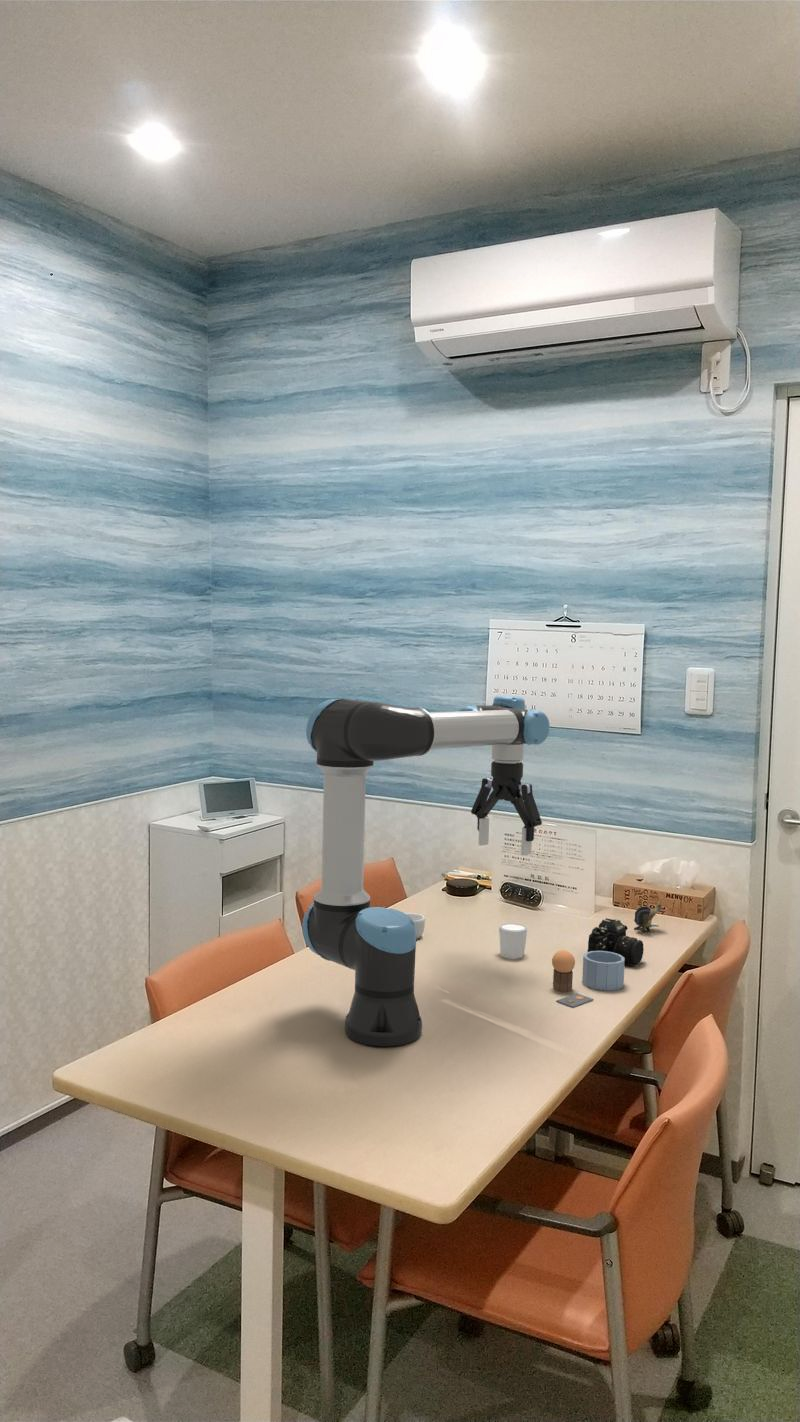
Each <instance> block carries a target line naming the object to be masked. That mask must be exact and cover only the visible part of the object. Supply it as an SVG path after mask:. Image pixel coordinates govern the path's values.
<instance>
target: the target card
mask: <svg viewBox="0 0 800 1422" xmlns="http://www.w3.org/2000/svg"><path fill="white" fill-rule="evenodd" d="M593 1001H594V998H593V997H589V996H586V995H583V994H581V993H577V992H576V993H574V994H571V995H567V996H565V997H562V998H560V999H557V1000H555V1002H556V1003H558V1004H560V1005H561V1004H562V1005H564V1006H567V1007H569V1008H571V1009H574V1008H577V1007H580V1006H582V1005H584V1004H587V1003H591V1002H593Z"/></svg>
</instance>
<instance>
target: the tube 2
mask: <svg viewBox="0 0 800 1422" xmlns="http://www.w3.org/2000/svg"><path fill="white" fill-rule="evenodd" d="M582 958H583V959H582V976H581V977H582V984H583V985H585V986H586V987H588V988H590V989H593V990H600V991H617V990H621V989H622V988H624V985H625V965H626V964H625V958H624V957H623V956H621V955H620V954H616V953H613V952H607V951H590V952H587V951H586V952H584V954H583V957H582Z"/></svg>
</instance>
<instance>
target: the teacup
mask: <svg viewBox="0 0 800 1422" xmlns="http://www.w3.org/2000/svg"><path fill="white" fill-rule="evenodd" d="M404 913H405V914H407V915H408V916H409V917H410V918H411V919H412V920H413V922H414V924H415V936H416V940H417V939H419V938H421V937H422V935H423V933H424V931H425V923H426V922H425V921H426V917H425V916H424V914H420V913H415V912H404Z"/></svg>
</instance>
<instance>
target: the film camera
mask: <svg viewBox="0 0 800 1422" xmlns="http://www.w3.org/2000/svg"><path fill="white" fill-rule="evenodd" d="M627 930H628V926H627V925H625V924H623V923H622V922H621V920H619V919H615V918H614V919H612V918H608V917H606V918H604V919H602V920H601V922H599V925H598V926H596V927H594V928H592V931H591V933H590V934H588V941H587V950H586V953H587V952H590V951H607V952H613V953H616V954H620V955H621V956H623V957H624V958H625V965H627V966H631V967H637V966H638V965H639V964H640V963H641V961H642V959H643V957H644V956H643V955H644V942H643V940H641V939H638V938H637V937H632V936H629V935H627Z"/></svg>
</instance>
